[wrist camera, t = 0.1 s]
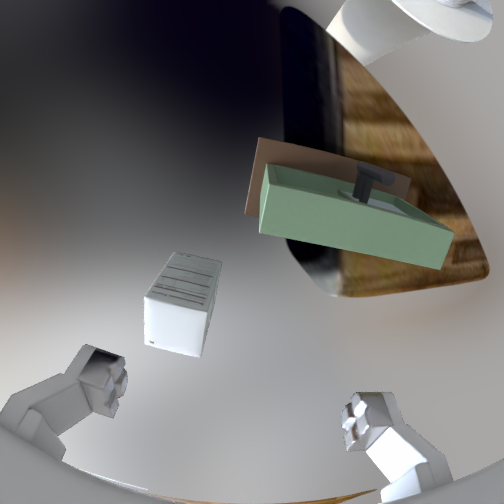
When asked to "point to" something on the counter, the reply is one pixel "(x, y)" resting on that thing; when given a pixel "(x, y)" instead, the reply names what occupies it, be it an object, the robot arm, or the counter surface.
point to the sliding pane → (370, 185)
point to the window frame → (339, 206)
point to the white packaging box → (181, 304)
